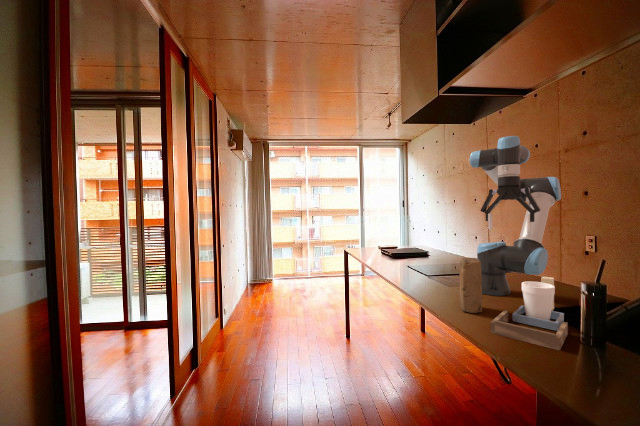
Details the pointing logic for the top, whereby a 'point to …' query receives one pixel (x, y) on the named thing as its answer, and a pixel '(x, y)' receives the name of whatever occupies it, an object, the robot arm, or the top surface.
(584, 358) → the top surface
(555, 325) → the tray
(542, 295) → the foam cup
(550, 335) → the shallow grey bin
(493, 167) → the robot arm
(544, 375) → the top surface
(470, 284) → the block
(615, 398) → the top surface
